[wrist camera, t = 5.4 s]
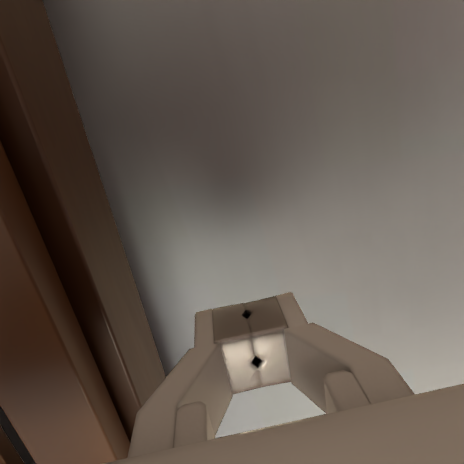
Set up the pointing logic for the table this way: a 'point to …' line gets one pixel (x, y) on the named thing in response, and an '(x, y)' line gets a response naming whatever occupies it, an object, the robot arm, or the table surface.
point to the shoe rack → (61, 269)
